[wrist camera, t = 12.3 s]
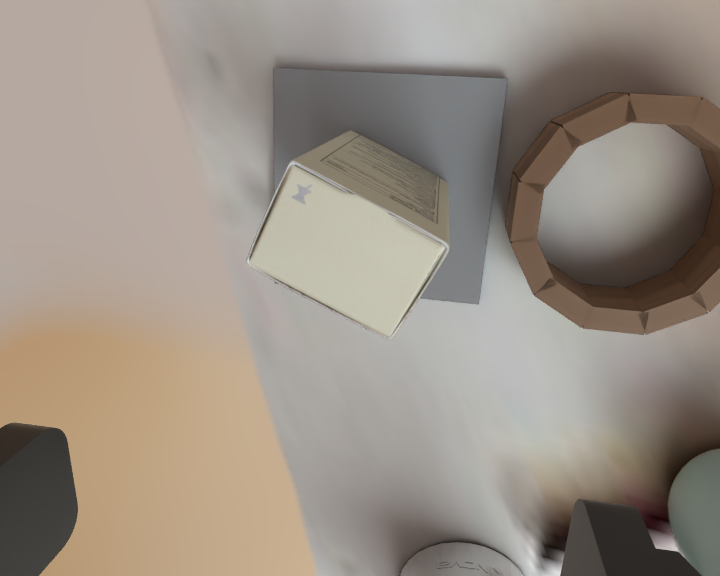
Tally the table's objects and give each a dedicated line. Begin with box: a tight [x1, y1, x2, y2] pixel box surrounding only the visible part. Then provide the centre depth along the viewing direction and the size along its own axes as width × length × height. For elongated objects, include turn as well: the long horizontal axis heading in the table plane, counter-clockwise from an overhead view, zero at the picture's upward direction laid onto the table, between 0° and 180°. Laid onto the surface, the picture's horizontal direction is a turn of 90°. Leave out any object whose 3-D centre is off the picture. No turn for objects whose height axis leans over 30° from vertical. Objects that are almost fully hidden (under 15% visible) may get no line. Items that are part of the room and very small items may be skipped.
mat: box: [273, 68, 508, 304], centre depth 31 cm, size 12×12×1 cm
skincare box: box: [246, 130, 449, 339], centre depth 25 cm, size 6×4×12 cm
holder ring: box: [505, 92, 720, 335], centre depth 28 cm, size 11×11×4 cm
